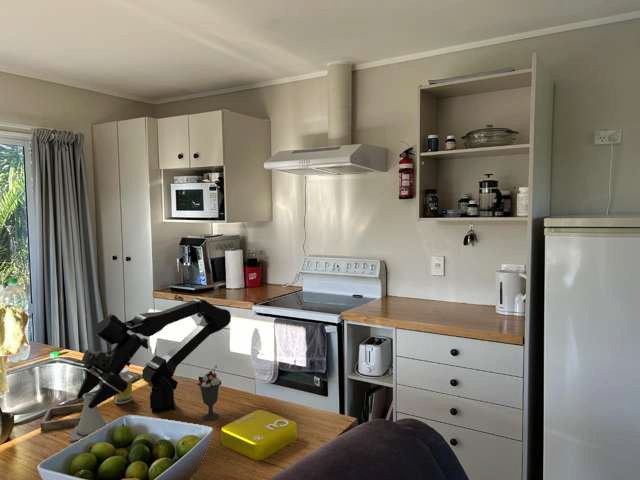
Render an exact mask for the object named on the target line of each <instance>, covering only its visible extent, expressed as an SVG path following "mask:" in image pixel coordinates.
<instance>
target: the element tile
mask: <svg viewBox="0 0 640 480" xmlns="http://www.w3.org/2000/svg"><path fill="white" fill-rule="evenodd" d="M297 429H298V428H297V422H295V420H291V419H288V418H286V417H283V416H280V415H277V414H276V413H272V412H270V411H267V410H264V409H257V410H254V411H253V412H250V413H248V414H246V415H244V416H242V417H240V418H237V419H236V420H233V421H232V422H230V423H227V424H226V425H224V426H222V427H221V429H220V431H221V433H220V435H221V445H222V446H225V447H226V448H229V449H230V450H232V451H235V452H237V453H239V454H241V455H242V456H245V457H247V458H250V459H252V460H255V461H261V460H264V459H266V458H267V457H270V456H271V455H273V454H274V453H276V452H278V451H279V450H281V449H283V448H284V447H285V446H287V445H289V444H291V443H293V442H294V441H296V440H297V437H298V433H297V431H298V430H297Z"/></svg>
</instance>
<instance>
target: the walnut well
mask: <svg viewBox="0 0 640 480" xmlns="http://www.w3.org/2000/svg"><path fill="white" fill-rule="evenodd" d="M83 408H84V402H82V403H75V404H68V405H63V406H62V405H61V406H54V407H49V408H48V409H47V410H46V412H45V414H44V416H43V418H42V420H41V422H40V431H46V430H53V429H60V428H66V427H73V426H74V427H75V426H77V425H79V422H80V419H81V416H82V412H83ZM77 412H80V416H75V417H69V418H68V417H67V418H62V419H55V420H50V419H51V417H52V416H56V415H65V414H71V413H77Z"/></svg>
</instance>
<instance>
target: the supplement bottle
mask: <svg viewBox="0 0 640 480" xmlns="http://www.w3.org/2000/svg"><path fill="white" fill-rule="evenodd" d="M129 374H130V372H129V368H124V369H123V370H122V371H121V373H120V374H119V375H120V376H121V377H120V378H122V379H123V380H125V381H126V382H128V387H127V389H126V390H125V391H124V393H122V392H121V391H118V392H120V394H117V395H115V396H113V402H114V404H117V405H120V404H122V405H123V404H126V403H129V402H131V401H132V400H133V385H132V384H133V383H132V381H133V380H132V376H131V375H129Z"/></svg>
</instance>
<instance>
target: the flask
mask: <svg viewBox="0 0 640 480" xmlns="http://www.w3.org/2000/svg"><path fill="white" fill-rule="evenodd" d="M96 393H97V392H91V391H90V392H89V393H86V394H84V395H83V397H82V398H83V403H84V408H83V412H82V411H81V413H82V416H81V415H80V416H81V419H80V422H79V425H78V428H77V431H76V433H78V434H81V435H89V434H91V433H93V432H95V431H96V430H98V429H100V428H102V427H103V426H105V425H106V423H105V421H106V420H105V419H104V417H103V416H102V413H101V412H100V410H99V407H98V405H97V406H95V407H94V408H92V409H90V408H89V407H88V406H89V404H90V402H91V400H92V399H93V397H94V396H95V394H96Z"/></svg>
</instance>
